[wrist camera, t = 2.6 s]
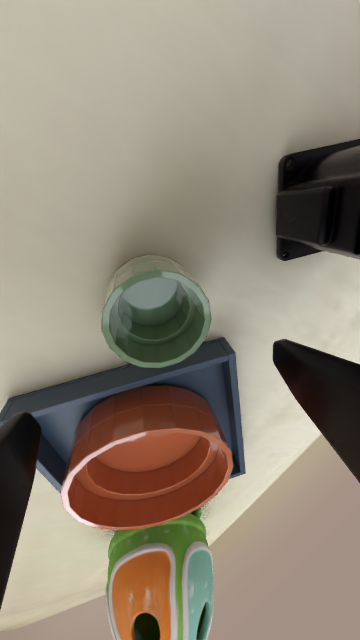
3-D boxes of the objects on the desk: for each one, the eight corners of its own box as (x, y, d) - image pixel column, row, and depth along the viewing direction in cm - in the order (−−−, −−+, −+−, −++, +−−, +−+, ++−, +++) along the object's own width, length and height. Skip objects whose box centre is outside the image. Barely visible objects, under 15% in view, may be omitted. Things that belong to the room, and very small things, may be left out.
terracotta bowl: (204, 362, 20) (225, 405, 16) (220, 450, 27) (237, 497, 23) (47, 408, 19) (23, 469, 14) (105, 488, 26) (101, 545, 21)
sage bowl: (183, 244, 15) (203, 258, 11) (197, 320, 18) (216, 352, 14) (95, 265, 14) (82, 288, 11) (123, 340, 17) (122, 379, 13)
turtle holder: (154, 555, 37) (165, 692, 27) (88, 519, 28) (65, 705, 18) (221, 523, 37) (258, 649, 26) (176, 477, 28) (205, 641, 17)
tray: (224, 337, 19) (235, 352, 17) (237, 454, 28) (245, 473, 26) (8, 398, 18) (-7, 423, 16) (94, 502, 26) (91, 526, 24)
